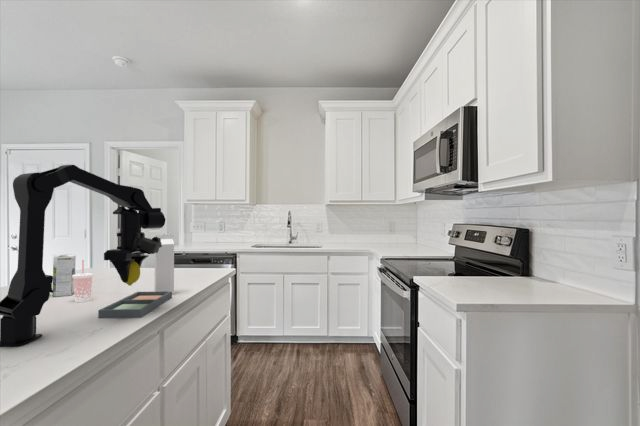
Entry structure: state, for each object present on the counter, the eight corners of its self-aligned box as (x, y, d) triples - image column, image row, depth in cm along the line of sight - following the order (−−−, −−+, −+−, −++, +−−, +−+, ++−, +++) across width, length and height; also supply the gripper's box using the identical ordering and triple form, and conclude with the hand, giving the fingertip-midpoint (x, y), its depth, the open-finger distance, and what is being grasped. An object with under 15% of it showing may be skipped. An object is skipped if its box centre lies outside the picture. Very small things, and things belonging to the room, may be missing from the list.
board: (141, 317, 101) (141, 309, 101) (98, 317, 100) (98, 310, 100) (171, 297, 125) (171, 291, 125) (137, 297, 124) (137, 291, 124)
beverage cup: (91, 301, 118) (92, 260, 119) (70, 303, 116) (70, 261, 116) (94, 297, 124) (94, 258, 124) (73, 299, 121) (74, 259, 121)
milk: (154, 293, 131) (154, 235, 131) (171, 291, 134) (171, 234, 135) (156, 296, 126) (156, 235, 126) (174, 294, 129) (174, 235, 129)
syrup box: (56, 293, 130) (56, 254, 130) (75, 292, 132) (75, 254, 132) (52, 297, 124) (52, 256, 124) (72, 295, 127) (72, 255, 127)
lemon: (131, 287, 103) (131, 260, 103) (115, 287, 104) (115, 260, 104) (144, 284, 108) (144, 258, 109) (128, 283, 110) (129, 258, 110)
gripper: (144, 230, 98) (143, 286, 97) (169, 228, 116) (168, 275, 116) (103, 230, 97) (102, 286, 97) (134, 228, 116) (134, 275, 115)
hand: (130, 280), depth 106 cm, fingers closed on lemon, 5 cm apart
